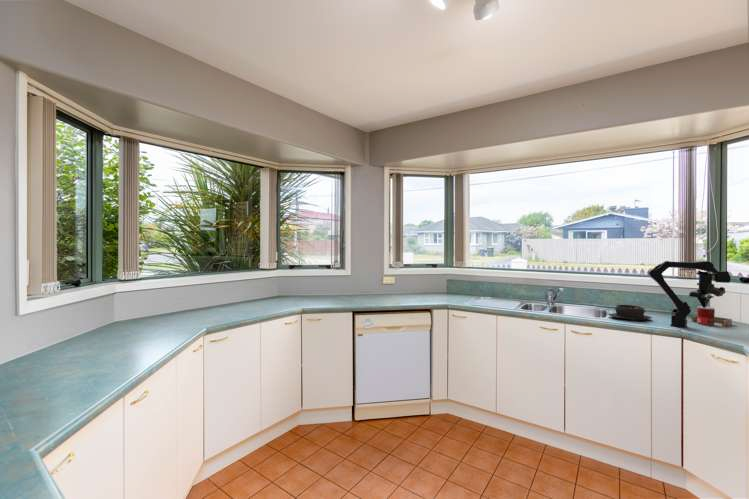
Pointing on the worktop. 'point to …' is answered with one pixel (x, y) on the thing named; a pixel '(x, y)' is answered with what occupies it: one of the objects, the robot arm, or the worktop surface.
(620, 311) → the casserole
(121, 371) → the worktop surface
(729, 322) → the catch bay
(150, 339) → the worktop surface
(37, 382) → the worktop surface
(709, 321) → the canned food
